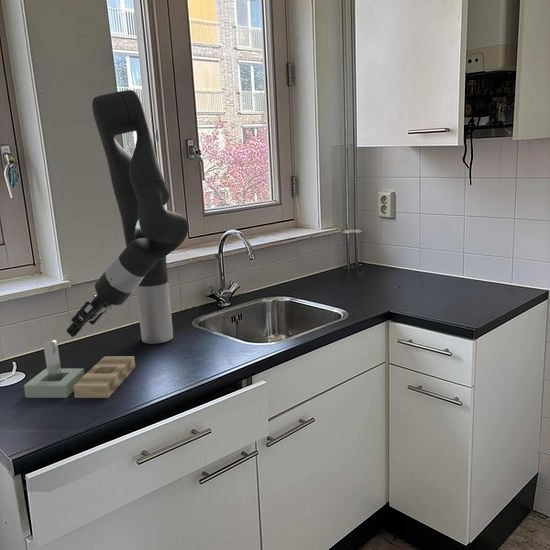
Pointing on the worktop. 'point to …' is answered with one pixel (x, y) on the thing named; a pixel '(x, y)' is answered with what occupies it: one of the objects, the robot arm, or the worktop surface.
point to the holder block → (53, 384)
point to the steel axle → (52, 360)
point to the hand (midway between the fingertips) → (80, 327)
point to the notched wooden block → (104, 377)
